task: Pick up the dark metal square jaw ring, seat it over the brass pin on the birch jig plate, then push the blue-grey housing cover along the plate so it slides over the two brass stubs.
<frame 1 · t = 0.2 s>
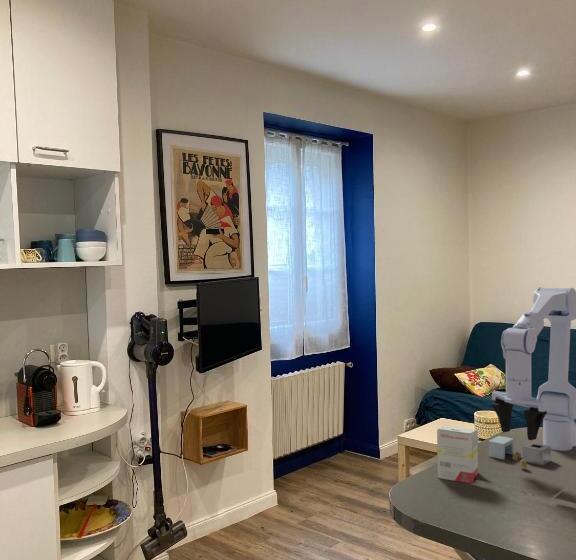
hand: (518, 435, 145), 10 cm above the table, fingers open, 7 cm apart
housing: (501, 447, 157), point 3 cm above the table, slide at 0.0 cm
jig plate: (514, 465, 153), on the table
ink box: (458, 478, 145), on the table
jaw: (536, 462, 152), point 1 cm above the table, touching jig plate
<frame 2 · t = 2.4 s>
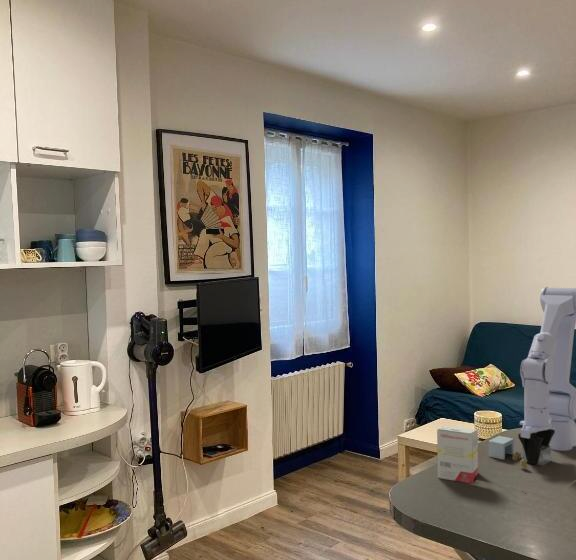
hand: (536, 460, 152), 1 cm above the table, fingers closed on jaw, 5 cm apart
jaw: (536, 462, 152), point 1 cm above the table, touching gripper, jig plate
everything else where it was.
when the fingers open (4 cm above the table, at t = 5.7 s): jaw drops 2 cm, resting on jig plate.
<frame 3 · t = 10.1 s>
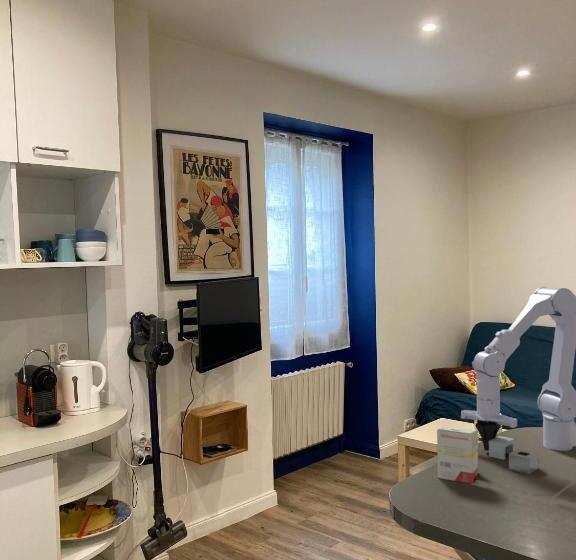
hand: (488, 449, 159), 2 cm above the table, fingers closed
housing: (501, 447, 157), point 3 cm above the table, slide at 0.1 cm, touching gripper
jaw: (523, 470, 146), point 1 cm above the table, touching jig plate
everything else where it was.
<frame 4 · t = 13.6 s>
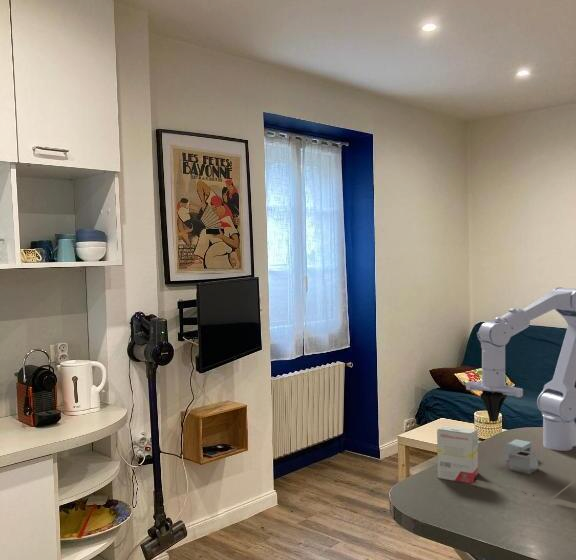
hand: (493, 420, 158), 10 cm above the table, fingers closed
housing: (518, 451, 154), point 3 cm above the table, slide at 4.6 cm, touching jig plate
everything else where it was.
at the end: jaw 0.0 cm from the target spot, point 1.0 cm above the table; jaw tilted 0°; housing slide at 4.6 cm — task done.
